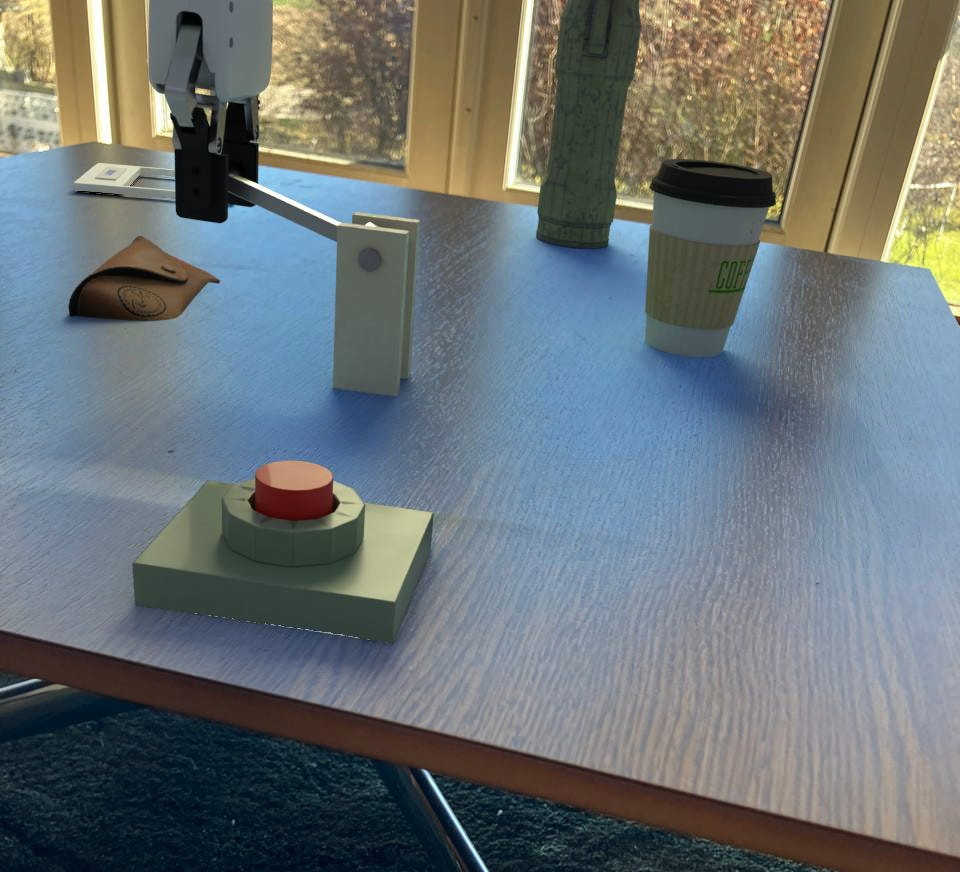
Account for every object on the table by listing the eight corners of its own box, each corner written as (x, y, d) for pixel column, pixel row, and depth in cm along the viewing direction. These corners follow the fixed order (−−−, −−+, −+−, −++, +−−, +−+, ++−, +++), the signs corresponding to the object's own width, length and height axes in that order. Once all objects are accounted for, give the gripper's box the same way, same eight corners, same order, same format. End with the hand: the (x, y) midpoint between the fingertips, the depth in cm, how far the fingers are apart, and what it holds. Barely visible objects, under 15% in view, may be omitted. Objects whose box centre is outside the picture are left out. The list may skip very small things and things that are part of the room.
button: (245, 519, 52) (244, 483, 51) (268, 489, 55) (268, 455, 54) (321, 530, 52) (322, 495, 51) (340, 499, 55) (341, 466, 54)
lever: (190, 197, 71) (200, 160, 70) (219, 184, 75) (229, 149, 74) (383, 286, 72) (396, 251, 71) (400, 268, 77) (412, 235, 75)
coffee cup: (761, 379, 92) (806, 183, 84) (651, 379, 89) (687, 176, 81) (707, 343, 100) (743, 161, 92) (604, 342, 97) (633, 154, 89)
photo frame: (97, 161, 141) (244, 173, 144) (98, 170, 142) (244, 183, 144) (73, 180, 129) (233, 194, 131) (74, 191, 130) (233, 204, 132)
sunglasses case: (184, 336, 85) (133, 253, 82) (105, 375, 86) (53, 296, 83) (223, 279, 100) (182, 208, 97) (157, 314, 102) (114, 245, 99)
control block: (134, 605, 51) (128, 526, 49) (208, 517, 60) (206, 446, 58) (393, 645, 51) (398, 566, 49) (430, 550, 59) (436, 479, 57)
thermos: (537, 247, 128) (580, -122, 111) (532, 226, 139) (571, -114, 121) (614, 254, 129) (669, -112, 111) (603, 233, 139) (653, -105, 121)
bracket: (285, 407, 75) (287, 223, 69) (316, 372, 82) (319, 202, 76) (432, 428, 75) (446, 244, 69) (451, 391, 82) (465, 221, 76)
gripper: (204, -116, 72) (206, 185, 81) (91, -145, 57) (108, 226, 66) (319, -100, 72) (308, 199, 81) (235, -126, 57) (233, 244, 66)
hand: (218, 208), depth 74 cm, fingers closed on lever, 5 cm apart
